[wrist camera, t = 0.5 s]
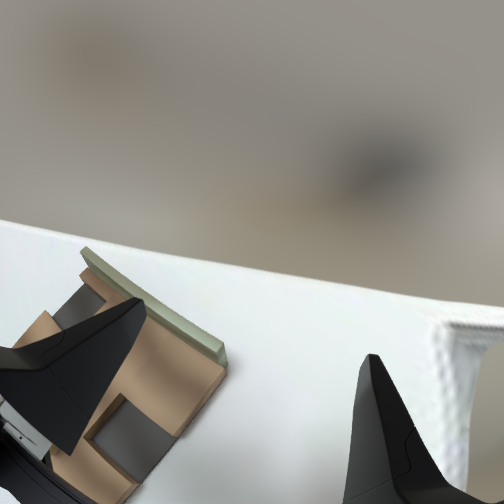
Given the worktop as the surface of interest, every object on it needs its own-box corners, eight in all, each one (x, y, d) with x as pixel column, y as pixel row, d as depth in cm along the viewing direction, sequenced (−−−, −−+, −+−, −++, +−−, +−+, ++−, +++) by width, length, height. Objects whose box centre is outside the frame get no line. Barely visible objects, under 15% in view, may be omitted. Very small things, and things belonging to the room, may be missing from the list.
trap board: (109, 517, 13) (82, 524, 10) (1, 380, 20) (-26, 363, 16) (232, 366, 25) (229, 345, 21) (99, 272, 32) (83, 244, 28)
